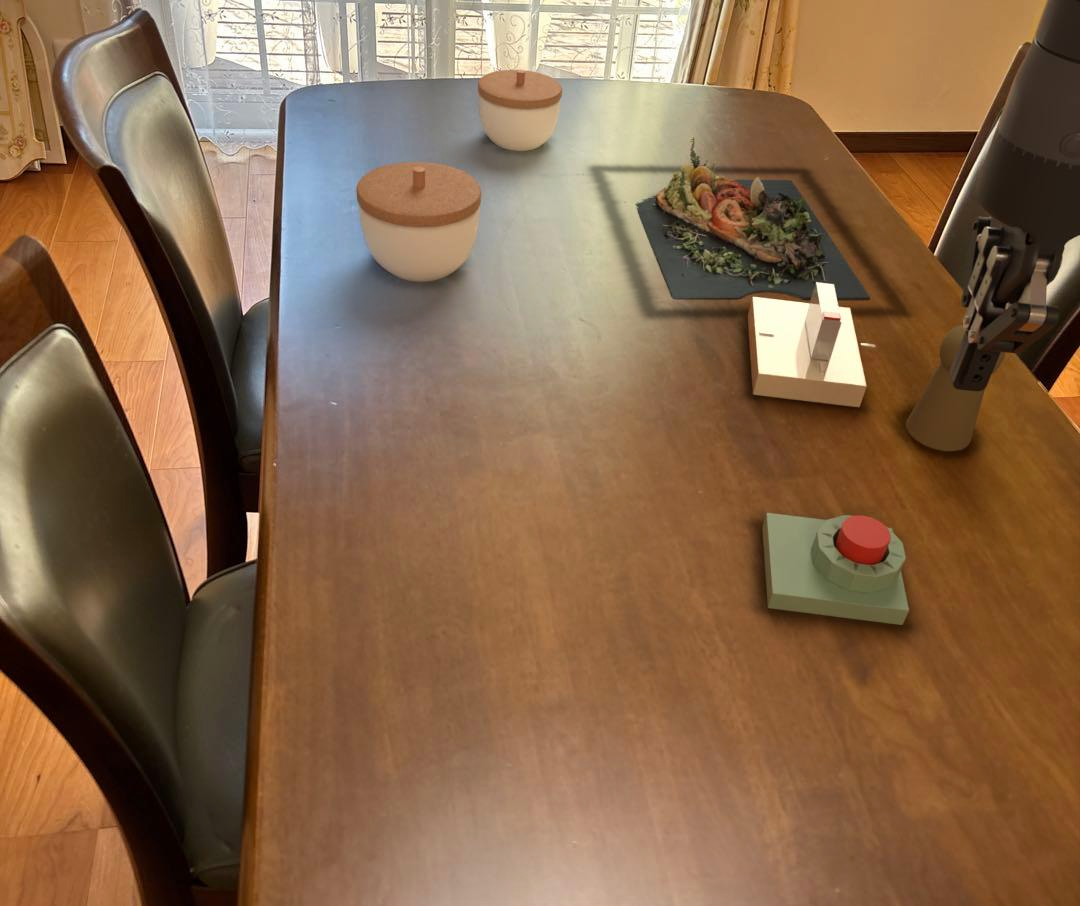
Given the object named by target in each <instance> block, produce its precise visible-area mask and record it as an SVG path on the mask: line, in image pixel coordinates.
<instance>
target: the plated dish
mask: <svg viewBox="0 0 1080 906" xmlns="http://www.w3.org/2000/svg"><path fill="white" fill-rule="evenodd" d="M690 143H692V144H691V147H690V149H689V151H690V154H689V156H690V163H691V164H690V163H685V164H684V165H683V166H681V167H680V171H677V172H673V175H672V178H671V180H670V181H669V183H668V185H667V186H666V187H663V188H662V189H661V190H660V191H659V192H658V193H657V194H656V195H652V197H647V198H644V199H643V198H642V201H640V202H638V201H637V202H636V203H635V207H636V210H637V215H638V217H639V220H640V222H641V224H642V227H643V230H644V232H645V235H646V237H647V240H648V242H649V245H650V247H651V250H652V251H653V254H654V257H655V259H656V261H657V264H658V267H659V269H660V272H661V274H662V277H663V279H664V281H665V283H666V286H667V289H668V291H669V293H670V297H671V298H672V299H673V300H741V299H742V298H744V297H746V296H749V295H752V294H758V293H759V294H760V293H778V294H783V295H787V296H790V297H794V298H797V299H800V300H803V301H805V300H811V297H812V294H813V290H814V287H815V283H816V282H818V283H827V284H834V286H835V291H836V296H837V301H846V300H847V301H848V300H852V301H854V300H855V301H857V300H858V301H859V300H860V301H861V300H862V301H865V300H868V301H869V300H870V299H871V297H870V295H869V293H868V292H867V291H866V289H865V288H864V285H863V284H862V283H861V281H860V280H859V278H858V277H857V275H856V274H855V272H854V270H852V268H851V266H850V265H849V263H848V261H847V260H846V259H845V257H844V256H843V254H842V252H841V251H840V250H839V248H838V247H837V245H836V243H835V242H834V240H833V239H832V237H831V235H829V233H828V231H827V230H826V229H825V227H824V226H823V224H822V223H821V222H820V220H819V218H818V217H817V215H816V213H814V211H813V210H812V208H811V207H810V205H809V204H808V202H807V201H806V199H805V198H804V197H803V195H802V193H801V192H800V190H799V189H798V188H797V186H796V185H795V183H794V182H793V181H792V180H790V179H789V180H788V179H760V177H759V176H757V177H755V178H754V179H733V180H729V179H727V178H726V177H725V176H723V175H722V174H719V175H716V168H717V167H716V166H715V165H716V163H712V166H711V167H712V169H710V168H709V167H707V163H709V160H708V159H706V160H705V161H706V162H705V163H703V165H700V164H701V156H700V155H697V153H696V152H695V150H694V148H695V143H696V140H695V137H693V138H692V139H690Z"/></svg>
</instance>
